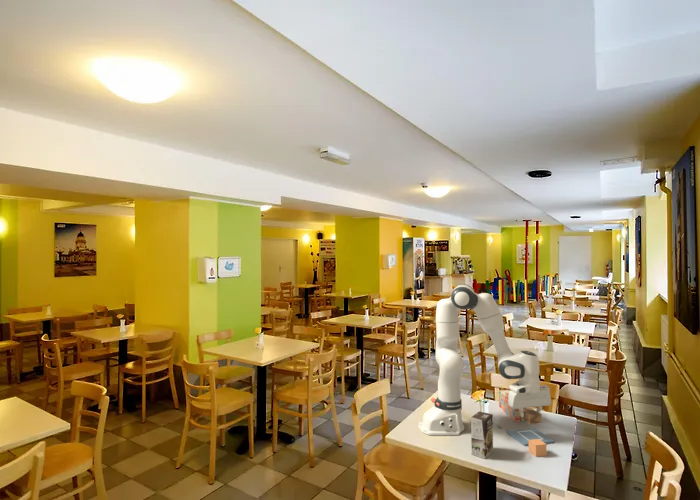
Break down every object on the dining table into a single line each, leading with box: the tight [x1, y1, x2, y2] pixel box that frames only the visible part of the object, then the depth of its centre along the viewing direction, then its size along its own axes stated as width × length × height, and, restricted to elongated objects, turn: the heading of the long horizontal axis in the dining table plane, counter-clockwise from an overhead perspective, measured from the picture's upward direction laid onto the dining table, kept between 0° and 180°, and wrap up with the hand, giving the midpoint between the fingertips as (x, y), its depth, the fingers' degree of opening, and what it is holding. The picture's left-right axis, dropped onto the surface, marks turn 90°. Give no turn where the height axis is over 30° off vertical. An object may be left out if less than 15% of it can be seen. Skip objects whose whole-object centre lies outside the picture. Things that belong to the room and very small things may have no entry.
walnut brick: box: [519, 407, 543, 425], centre depth 188 cm, size 6×8×4 cm
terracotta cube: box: [528, 439, 547, 458], centre depth 173 cm, size 5×5×5 cm
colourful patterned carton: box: [498, 389, 527, 423], centre depth 216 cm, size 21×6×12 cm, turn 1°
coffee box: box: [470, 411, 494, 460], centre depth 174 cm, size 9×6×16 cm
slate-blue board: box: [506, 427, 555, 447], centre depth 188 cm, size 15×14×1 cm
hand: (530, 416), depth 188 cm, fingers closed on walnut brick, 6 cm apart
